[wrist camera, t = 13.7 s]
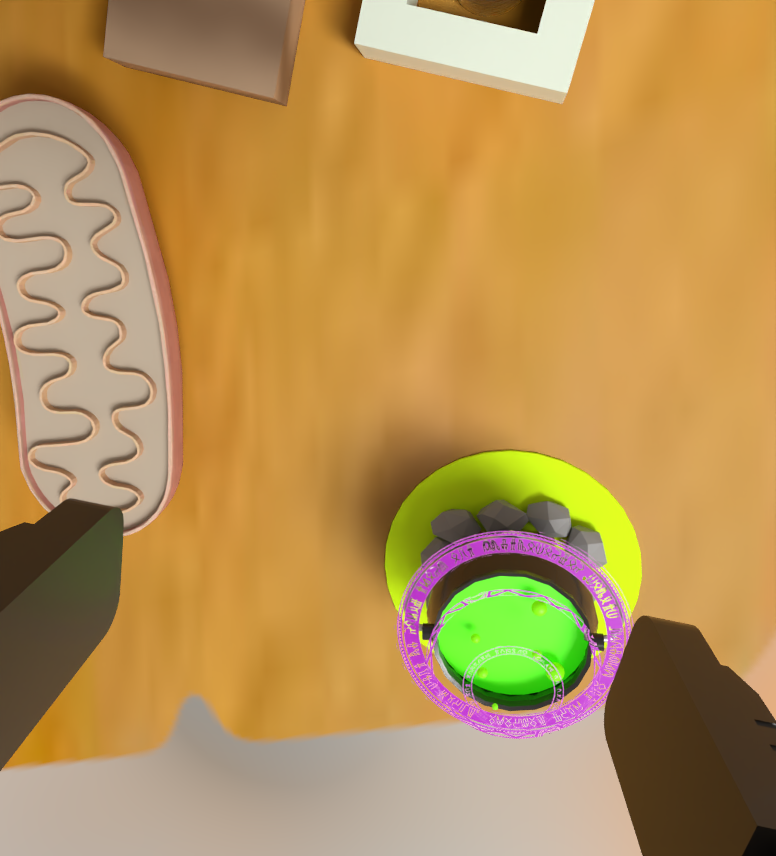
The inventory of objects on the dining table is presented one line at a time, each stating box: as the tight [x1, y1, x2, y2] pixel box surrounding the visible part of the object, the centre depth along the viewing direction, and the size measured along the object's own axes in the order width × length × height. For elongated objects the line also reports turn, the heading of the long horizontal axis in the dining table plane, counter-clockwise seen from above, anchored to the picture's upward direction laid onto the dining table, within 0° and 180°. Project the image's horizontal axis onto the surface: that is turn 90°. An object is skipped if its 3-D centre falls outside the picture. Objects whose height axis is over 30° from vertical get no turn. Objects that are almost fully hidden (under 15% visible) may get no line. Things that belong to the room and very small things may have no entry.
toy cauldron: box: [385, 450, 642, 739], centre depth 34 cm, size 15×15×11 cm
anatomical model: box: [0, 93, 183, 536], centre depth 36 cm, size 23×10×5 cm, turn 4°
